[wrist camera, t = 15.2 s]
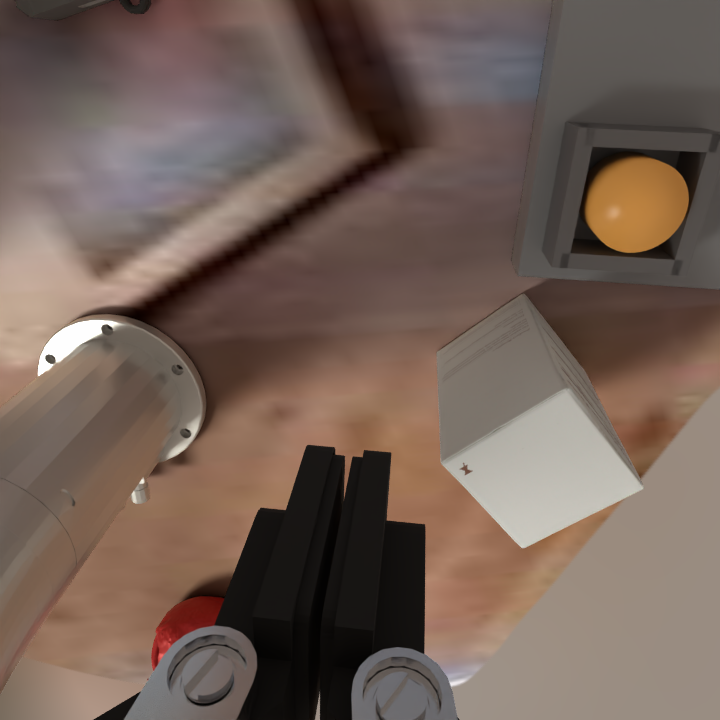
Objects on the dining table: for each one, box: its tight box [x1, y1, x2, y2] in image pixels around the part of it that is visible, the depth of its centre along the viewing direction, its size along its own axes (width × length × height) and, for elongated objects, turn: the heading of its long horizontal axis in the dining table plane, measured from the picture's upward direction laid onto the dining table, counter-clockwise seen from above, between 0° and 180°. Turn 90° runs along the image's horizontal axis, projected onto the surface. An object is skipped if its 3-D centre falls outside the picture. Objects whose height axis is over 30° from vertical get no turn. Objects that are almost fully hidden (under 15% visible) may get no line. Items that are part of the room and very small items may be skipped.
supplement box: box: [437, 293, 644, 548], centre depth 34 cm, size 7×7×13 cm
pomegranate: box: [147, 596, 224, 680], centre depth 51 cm, size 10×10×9 cm
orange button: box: [579, 151, 689, 253], centre depth 29 cm, size 4×4×3 cm
